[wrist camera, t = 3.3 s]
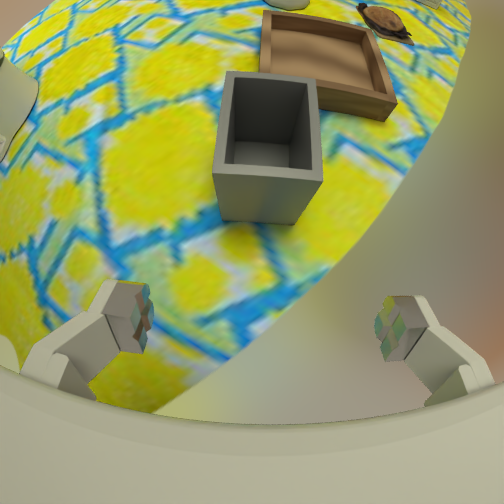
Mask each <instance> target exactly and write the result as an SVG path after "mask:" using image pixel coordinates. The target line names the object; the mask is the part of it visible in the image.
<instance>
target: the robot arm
mask: <svg viewBox="0 0 504 504" xmlns="http://www.w3.org/2000/svg"><path fill="white" fill-rule="evenodd" d="M37 93H38V82H37V80H36V79H34V78H32V77H30V76H28V75H27V74H25V73H24V72H22V71H21V70H19V69H18V68H17V67H16V66H15V65H13V64H12V63H11V62H10V61H9V60H8V59H7V58H6V57H5V56H4V52H3V51H2V49H1V47H0V161H1V160H2V159H3V157H4V155H5V153H6V151H7V149H8V147H9V144H10V142H11V140H12V138H13V136H14V135H15V133H16V132H17V131H18V129H19V128H20V126H21V125H22V124H23V122H24V120H25V119H26V117H27V116H28V114H29V112H30V110H31V108H32V106H33V104H34V102H35V100H36V97H37ZM149 294H150V289H149V286H148V284H146V283H139V282H131V281H123V280H113V279H106V280H105V281H104V282H103V283H102V285H101V287H100V289H99V290H98V292H97V294H96V296H95V298H94V299H93V301H92V303H91V305H90V307H89V309H88V311H87V312H86V311H83V312H81V313H80V314H78V315H77V316H75V317H74V318H72V319H71V320H69V321H68V322H66V323H65V324H63V325H62V326H60V327H59V328H57V329H56V330H54V331H53V332H51V333H50V334H48V335H47V336H45V337H44V338H42V339H41V340H40V341H38V342H37V343H35V344H34V345H33V347H32V349H31V351H30V353H29V355H28V357H27V359H26V361H25V363H24V365H23V367H22V369H21V371H20V373H19V374H18V373H16V372H14V371H11V370H9V369H7V368H5V367H3V366H1V365H0V504H504V382H501V383H499V384H495V382H494V380H493V377H492V375H491V373H490V371H489V368H488V366H487V364H486V362H485V360H484V359H483V358H482V357H481V356H480V355H478V354H477V353H476V352H475V351H474V350H472V349H471V348H470V347H469V346H468V345H466V344H465V343H464V342H463V341H461V340H460V339H459V338H458V337H456V336H455V335H454V334H453V333H451V332H450V331H449V330H448V329H446V328H445V327H444V326H442V327H441V326H440V324H439V322H438V321H437V319H436V317H435V315H434V313H433V311H432V309H431V308H430V306H429V304H428V302H427V300H426V299H425V297H424V296H422V295H411V296H387V297H386V298H385V300H384V302H383V307H384V309H382V310H381V311H380V312H379V313H378V314H377V317H376V319H375V325H374V327H375V334H376V336H377V338H378V339H379V340H380V341H381V342H382V344H381V346H380V348H381V351H382V354H383V358H384V360H385V362H388V361H401V360H404V362H405V363H406V364H407V366H408V367H409V368H410V369H411V370H412V371H413V372H414V373H415V374H416V375H417V377H418V378H419V379H420V380H421V381H422V382H423V383H424V385H425V386H426V387H427V388H428V389H429V390H430V391H431V392H432V395H431V396H430V397H429V398H428V399H427V400H426V401H425V403H424V406H425V407H423V408H418V409H414V410H410V411H405V412H400V413H395V414H389V415H384V416H378V417H371V418H364V419H357V420H348V421H338V422H327V423H313V424H287V425H259V424H258V425H257V424H233V423H219V422H207V421H198V420H189V419H182V418H174V417H167V416H161V415H155V414H150V413H145V412H140V411H135V410H130V409H126V408H121V407H117V406H113V405H109V404H105V403H101V402H98V401H96V396H95V394H94V393H93V392H92V390H91V389H90V388H89V386H88V385H87V384H88V383H89V382H90V381H91V380H92V379H93V378H94V377H95V376H96V375H97V374H98V373H99V372H100V371H101V370H102V369H103V368H104V367H105V366H106V365H107V364H108V363H109V362H111V361H112V360H113V359H114V358H115V357H116V356H117V355H118V354H119V353H120V351H125V352H132V353H139V354H143V352H144V349H145V346H146V342H147V339H148V338H147V335H146V332H147V331H148V330H150V329H151V327H152V323H153V317H154V307H153V303H152V301H151V300H150V299H149V298H148V297H149Z"/></svg>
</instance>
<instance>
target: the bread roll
mask: <svg viewBox="0 0 504 504" xmlns="http://www.w3.org/2000/svg"><path fill="white" fill-rule="evenodd" d="M356 8H357V10H358V12H359V13H360V15H361V16H362V17H363V19H364V20H365V22H366V23H367V25H368V26H369V27H370V28H371V29H372V30H373V31H374V32H375V33H376V35H377V36H378V37H379V38H382V39H388V40H392V41H396V42H400V43H404V44H408V45H412V46H414V43H413V41H412V40H411V38H410V37H409V36H408V35H410V36H412V35H411V34H410V33H409V32H407V31H406V28H405V26H404V25H403V23H402V21H401V19H400V18H399V16H398V15H397V14H395V13H394V12H393V11H391V10H389V9H386V8H383V7H377V6H370V7H367V4H365V3H359V6H356Z"/></svg>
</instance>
